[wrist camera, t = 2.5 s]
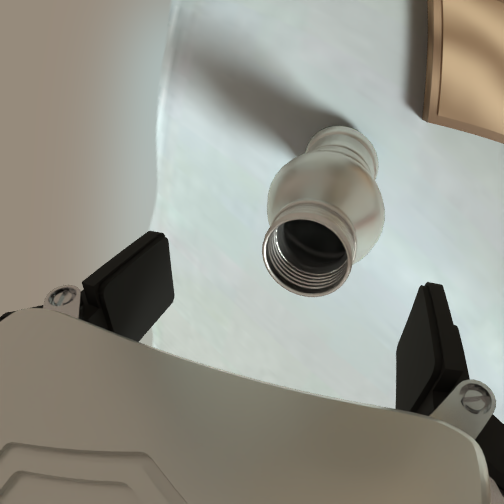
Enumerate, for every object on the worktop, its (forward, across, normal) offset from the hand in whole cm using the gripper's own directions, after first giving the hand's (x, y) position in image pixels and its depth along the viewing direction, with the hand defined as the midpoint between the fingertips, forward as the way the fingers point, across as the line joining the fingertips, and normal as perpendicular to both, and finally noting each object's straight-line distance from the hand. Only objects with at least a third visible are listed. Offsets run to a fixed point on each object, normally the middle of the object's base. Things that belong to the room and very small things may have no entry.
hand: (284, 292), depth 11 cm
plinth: (+22, -15, -13) cm, 29 cm away
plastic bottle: (+22, -1, -1) cm, 22 cm away
